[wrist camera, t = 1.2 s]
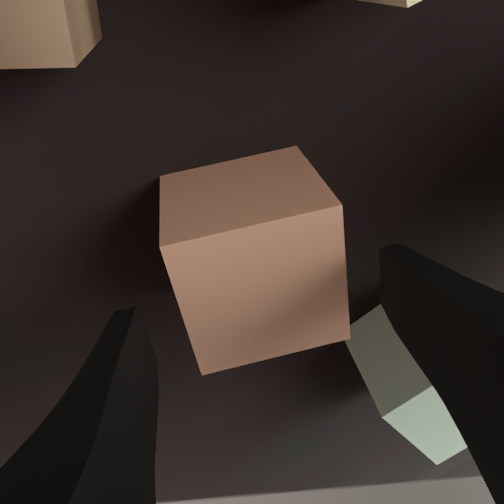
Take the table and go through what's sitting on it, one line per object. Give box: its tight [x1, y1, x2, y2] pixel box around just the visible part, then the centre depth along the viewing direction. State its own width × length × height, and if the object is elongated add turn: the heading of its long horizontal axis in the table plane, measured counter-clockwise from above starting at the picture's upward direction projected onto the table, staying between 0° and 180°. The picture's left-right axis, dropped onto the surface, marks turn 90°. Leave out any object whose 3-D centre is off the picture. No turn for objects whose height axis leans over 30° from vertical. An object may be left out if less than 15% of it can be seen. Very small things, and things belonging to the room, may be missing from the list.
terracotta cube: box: [159, 146, 351, 375], centre depth 15 cm, size 5×5×5 cm
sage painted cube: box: [344, 304, 467, 465], centre depth 20 cm, size 5×5×5 cm
